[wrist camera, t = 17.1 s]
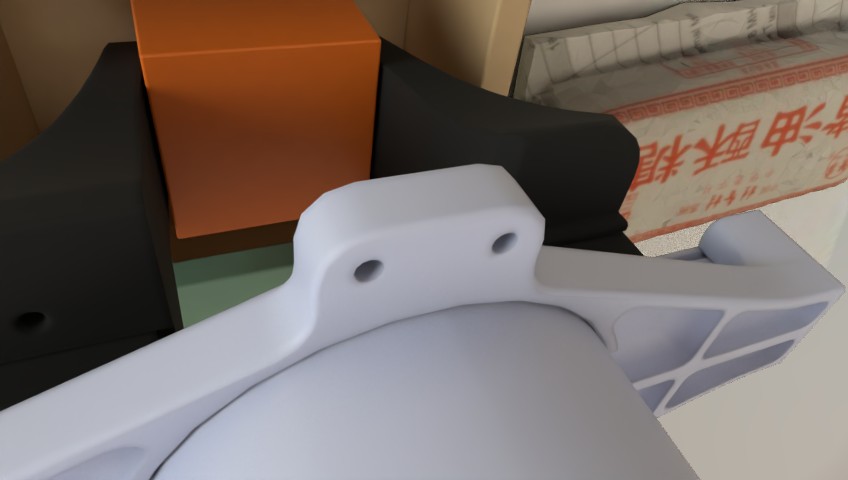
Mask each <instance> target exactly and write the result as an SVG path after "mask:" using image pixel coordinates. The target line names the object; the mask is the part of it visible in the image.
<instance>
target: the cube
mask: <svg viewBox="0 0 848 480" xmlns="http://www.w3.org/2000/svg"><path fill="white" fill-rule="evenodd" d="M130 2H131V8H132V14H133V21H134V27H135V33H136V39H137V45H138V51H139V57H140V62H141V67H142V72H143V77H144V81H145V86H146V91H147V96H148V101H149V105H150V110H151V115H152V120H153V125H154V129H155V134H156V139H157V144H158V149H159V153H160V158H161V163H162V168H163V173H164V177H165V182H166V187H167V192H168V197H169V201H170V206H171V211H172V216H173V221H174V225H175V230H176V235H177V237H178V239H183V238H189V237H195V236H201V235H207V234H213V233H219V232H225V231H231V230H237V229H243V228H249V227H255V226H261V225H268V224H274V223H280V222H286V221H292V220H298V219H300V216H301V214H302V213H303V212H304V211H305V210H306V209H307V208H308V207H310V206H311V205H312V204H313V203H314V202H315V201H316V200H317V199H318V198H319V197H320V196H321V195H322V194H324V193H326V192H328V191H331V190H334V189H337V188H339V187H342V186H345V185H348V184H351V183H353V182H358V181H364V180H370V170H371V159H372V147H373V135H374V123H375V111H376V99H377V87H378V75H379V63H380V52H381V39H380V38H379V36H378V35H377V34H376V32H375V31H374V29H373V28H372V26H371V25H370V24H369V22H368V21H367V19H366V18H365V16H364V15H363V14H362V12H361V11H360V9H359V8H358V7H357V5H356V4H355V2H354V1H353V0H130Z"/></svg>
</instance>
